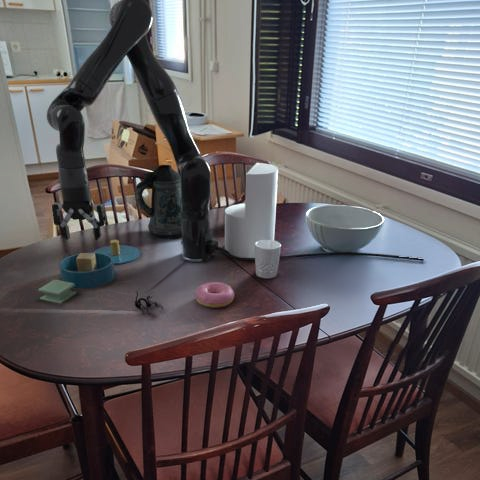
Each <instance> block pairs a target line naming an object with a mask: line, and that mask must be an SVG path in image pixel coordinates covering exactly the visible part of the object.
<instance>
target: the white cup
mask: <svg viewBox="0 0 480 480" xmlns="http://www.w3.org/2000/svg"><path fill="white" fill-rule="evenodd" d="M281 247H282V244H281V242H279V241H277V240H275V239H274V240H260V241H257V242H256V243H255V261H254V264H255V265H254V266H255V275H256V276H257V277H259V278H262V279H273V278H276V277H277V276H278V270H279V269H278V268H279V265H280V259H279V257H280V256H281Z"/></svg>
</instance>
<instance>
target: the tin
mask: <svg viewBox="0 0 480 480" xmlns="http://www.w3.org/2000/svg"><path fill="white" fill-rule="evenodd" d="M79 254H80V253H77V254H72V255H70V256H67V257H64V258H63V259H62V260H61V261H60V262H59V270H60V277H61V281H65V282H70V283H74V284H75V286H74V287H72V288H73V289H81V290H83V289H85V290H86V289H93V288H94V289H95V288H98V287H102V286H104V285H106V284H109V283H111V281H113V280H114V279H115V276H116V275H115V267H114V266H115V265H113V259H112V258H111V257H110V256H109V255H106V254H102V253H95V258H96V265H97V270H94V271H87V272H78V268H77V262H76V258H77V257H78V255H79ZM72 288H71V289H72Z"/></svg>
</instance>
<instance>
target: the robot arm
mask: <svg viewBox="0 0 480 480" xmlns="http://www.w3.org/2000/svg"><path fill="white" fill-rule="evenodd" d="M153 16H154V15H153V11H152V8H151V6H150V5H149V3H148V2H147V1H146V0H118V1H117V2H115V3H114V4H113V5H112V6H111V8H110V11H109V24H110V29H109V31H108V33H107V34H106V36H105V37H104V39H102V41H101V42H100V44H98V46H97V47H96V48H95V49H94V50H93V51H92V52H91V54H89V56H88V57H87V58H86V59H85V61H83V63H82V65H81V66H80V67H79V68H78V70H77V71H76V73H75V74H74V76H73V78H72V79H71V81H70V83H69V84H68V85H67V86H66V87H65V88H63V90H62V91H61V92H59V94H58V95H56V97H55V98H54V99H53V100H52V101H51V103H50V104H49V106H48V107H47V111H46V120H47V124H48V125H49V126H50V128H52V129H53V130H55V131H57V132H58V133H59V143H58V144H56V147H55V156H56V160H57V166H58V183H59V187H60V192H61V198H62V203H59V202H58V201H55V202H54V203H52V204H51V211H52V220H53V225H54V226H59V227H60V228H61V232H62V237H63V238H64V239H65V240H70V239H71V233H70V227H69V226H70V225H69V222H70V220H71V219H72V220H73V221H74V220H75V221H77V220H81V221H85V220H86V221H87V222H88V223H89V224H90V225H91V226H92V227H93V234H94V235H93V236H94V241H99V240H100V239H101V237H102V231H101V227H104V226H105V225H106V224H107V218H106V212H105V207H104V204H103V203H102V202H100V203H99V204H93V203H92V197H91V188H90V181H89V174H88V170H87V165H86V159H85V151H84V146H85V134H86V125H85V123H86V122H85V118H84V115H83V113H82V111H83V109H85V108H86V107H89V106H92V105H93V104H94V103H95V101H96V100H97V99H98V97H99V96H100V94H101V93H102V91H103V90H104V88H105V87H106V85H107V84H108V82H109V81H110V80H111V78H112V76H113V75H114V73H115V71H116V70H117V68H118V67H119V65H120V64H121V63H122V61H123V60H124V59H125V58H126V57H127V59H128V62H129V63H130V66H131V67H132V70H133V72H134V74H135V77H136V79H137V81H138V84H139V87H140V88H141V90H142V93H143V96H144V98H145V101H146V103H147V104H148V107H149V110H150V112H151V114H152V116H153V118H154V120H155V122H156V124H157V126H158V128H159V129H160V131H161V132H162V134H163V136H164V138H165V139H166V141H167V143H168V145H169V147H170V150H171V153H172V155H173V158H174V161H175V162H174V163H175V165H176V168H177V173H179V175H180V177H181V200H180V204H181V228H182V238H181V241H180V245H181V247H182V248H181V250H182V253H181V254H182V255H181V256H182V259H184V260H185V261H186V262H188V263H189V262H190V263H206V262H207V261H208V260H210V259H211V258H212V257H213V255H214V254H215V253H216V252H218V251H221V252H222V253H225V254H226V255H227V256H228V257H229V258H231V259H234V260H239V261H247V262H248V261H250V262H252V261H253V262H255V258H241V257H236V256H233V255H231V254H230V253H229V252H228V251H227V250H225V248H223V247H221V246H219V240H214V239H213V229H212V228H210V227H211V225H210V224H211V223H210V222H211V221H210V203H211V202H210V201H211V197H212V173H211V167H210V165H209V164H208V162H207V161H206V160H205V159H204V157H203V156H202V154H201V151H200V150H199V148H198V147H197V145H196V143H195V140H194V138H193V136H192V134H191V130H190V127H189V122H188V117H187V114H186V110H185V106H184V104H183V101H182V99H181V96H180V93H179V91H178V89H177V87H176V84H175V82H174V80H173V79H172V77H171V75H169V73H168V72H167V71H166V69H165V68H164V67H163V66H162V64H161V62H159V60H158V59H157V58H156V56H155V54H154V52H153V49H152V48H151V45H150V43H149V41H148V38H147V37H148V36H147V34H148V33H149V32H150V30H151V28H152V26H153V18H154V17H153ZM62 210H63V211H64V212H65V213H66V215H65V216H64V218H63V219H62V217H61V211H62ZM93 210H94V211H95V213H97V217H98V219H97V217H96V215H95V214H94V213H93V212H92V211H93ZM324 256H325V257H326V256H363V257H378V258H390V259H391V258H392V259H402V260H411V261H420V262H421V261H422V262H424V260H425V258H424V259H418V258H419V257H417V258H409V257H410V256H407V257H399V256H400V255H398V254H397V255H396V254H388V253H387V254H386V253H385V254H384V253H374V252H373V253H372V252H356V253H352V252H348V253H341V252H335V253H329V252H316V253H313V252H312V253H301V254H289V255H280V257H279V260H285V259H296V258H297V259H298V258H308V257H324Z"/></svg>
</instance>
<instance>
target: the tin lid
mask: <svg viewBox="0 0 480 480" xmlns="http://www.w3.org/2000/svg"><path fill="white" fill-rule="evenodd" d="M109 244H110V245H106V246H102V247H99V248H97V249H96V250H94V251H91V253H102V254H106V255H109V256H110V257H111V258H112V259H113V266H117V265H125V264H128V263H131V262H135V261H136V260H138V259H139V258H140V257H141V250H140V249H139V248H137V247H135V246H131V245H126V244H120V241H119V239H110V240H109Z"/></svg>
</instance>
